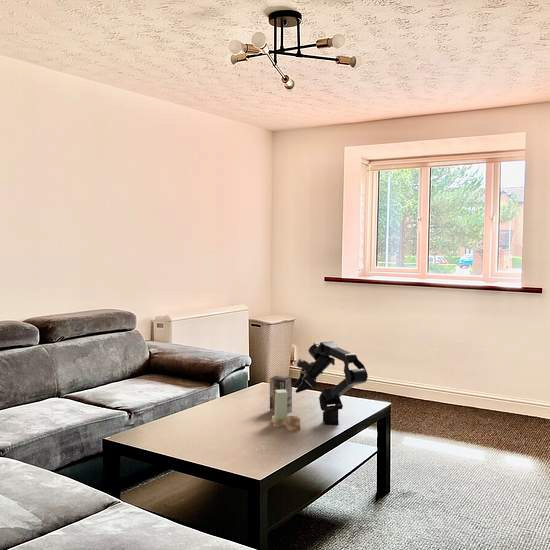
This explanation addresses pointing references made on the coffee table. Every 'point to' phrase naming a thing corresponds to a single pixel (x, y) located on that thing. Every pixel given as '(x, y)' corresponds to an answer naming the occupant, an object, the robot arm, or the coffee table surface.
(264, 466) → the coffee table surface
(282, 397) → the sage block
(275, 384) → the coffee box
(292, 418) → the oak cube
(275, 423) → the maple slab
